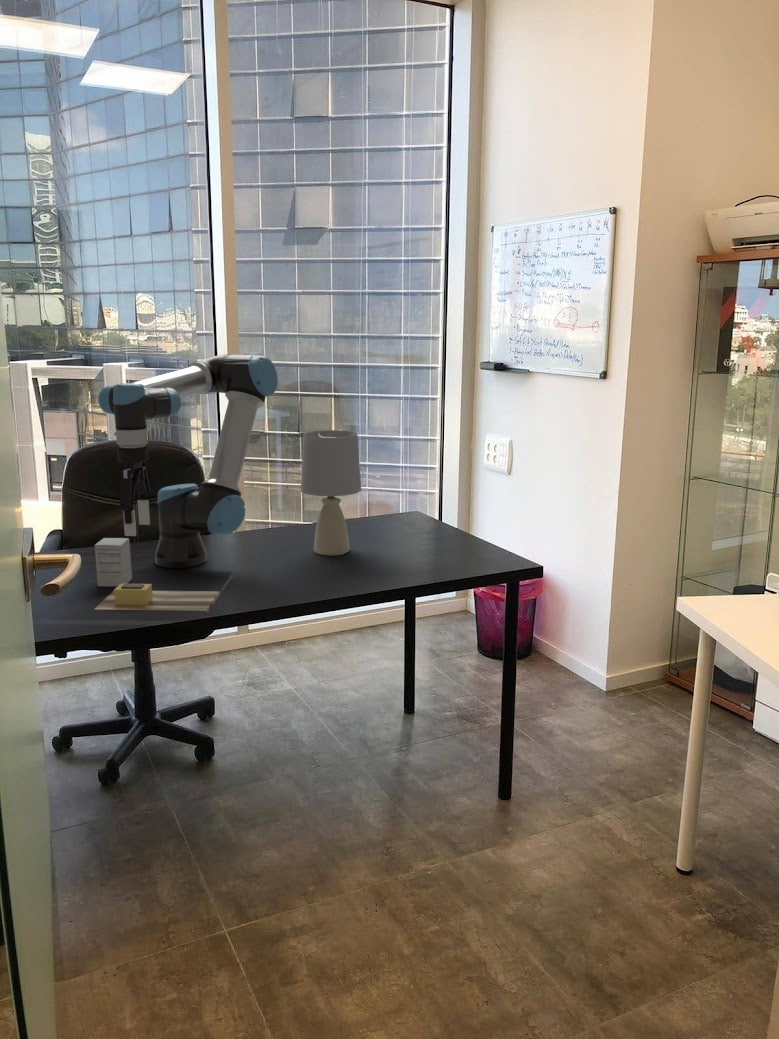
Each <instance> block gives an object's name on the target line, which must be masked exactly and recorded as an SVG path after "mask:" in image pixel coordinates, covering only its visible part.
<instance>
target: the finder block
mask: <svg viewBox="0 0 779 1039" xmlns="http://www.w3.org/2000/svg"><path fill="white" fill-rule="evenodd" d="M152 586H153V584H152V583H128V584H120V585H119V586H116V587H115V588H114V589H113V591H114V594H115V605H148V603H149V602H150V601H151V600H152V599H153V597H152V591H153V587H152Z"/></svg>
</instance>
